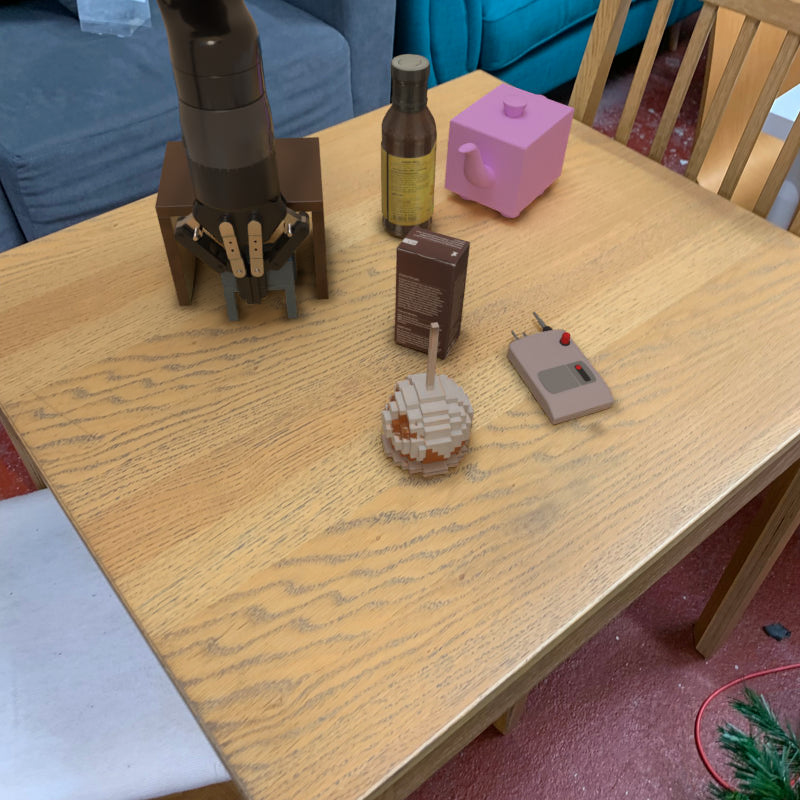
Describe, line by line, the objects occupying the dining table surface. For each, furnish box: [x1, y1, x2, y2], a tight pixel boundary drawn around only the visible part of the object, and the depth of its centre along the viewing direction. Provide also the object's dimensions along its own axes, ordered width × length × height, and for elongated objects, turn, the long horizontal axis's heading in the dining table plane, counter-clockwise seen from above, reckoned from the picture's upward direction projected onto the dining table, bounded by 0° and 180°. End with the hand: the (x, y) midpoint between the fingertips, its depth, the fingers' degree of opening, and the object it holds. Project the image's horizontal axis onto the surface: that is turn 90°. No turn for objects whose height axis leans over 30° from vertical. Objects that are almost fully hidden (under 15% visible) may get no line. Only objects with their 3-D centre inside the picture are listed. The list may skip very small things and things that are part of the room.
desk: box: [154, 136, 329, 307], centre depth 82 cm, size 16×12×12 cm
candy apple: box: [380, 322, 475, 478], centre depth 65 cm, size 8×8×15 cm
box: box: [393, 226, 471, 360], centre depth 75 cm, size 6×4×12 cm
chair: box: [219, 242, 299, 322], centre depth 81 cm, size 7×7×8 cm
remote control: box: [506, 311, 615, 427], centre depth 76 cm, size 7×16×3 cm, turn 22°
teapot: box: [443, 82, 576, 219], centre depth 93 cm, size 20×10×12 cm, turn 144°
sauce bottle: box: [380, 53, 438, 239], centre depth 86 cm, size 6×6×20 cm
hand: (254, 299), depth 77 cm, fingers closed
